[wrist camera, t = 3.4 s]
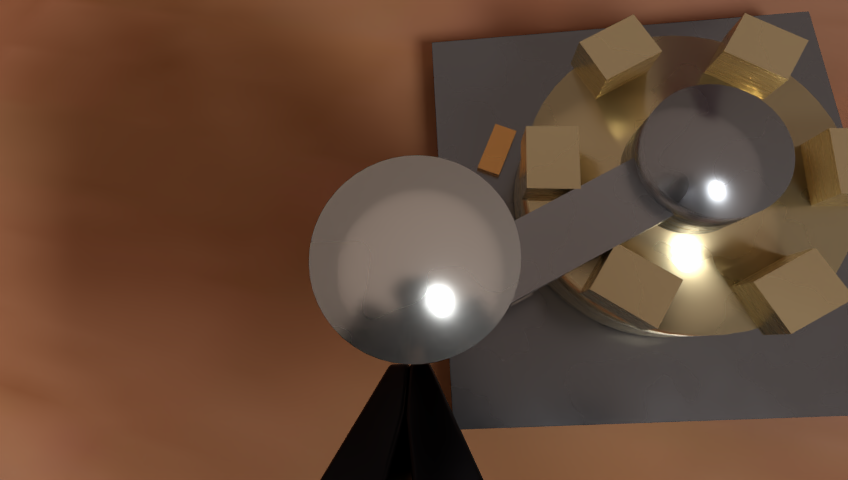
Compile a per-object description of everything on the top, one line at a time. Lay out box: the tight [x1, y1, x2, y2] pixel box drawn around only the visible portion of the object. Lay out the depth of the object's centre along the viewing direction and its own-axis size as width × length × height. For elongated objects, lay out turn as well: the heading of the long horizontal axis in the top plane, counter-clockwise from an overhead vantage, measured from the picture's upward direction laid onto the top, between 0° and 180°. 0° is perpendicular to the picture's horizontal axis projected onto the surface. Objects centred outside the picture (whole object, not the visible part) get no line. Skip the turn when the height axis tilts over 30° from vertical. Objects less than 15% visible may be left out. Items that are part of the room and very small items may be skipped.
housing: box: [432, 12, 848, 429], centre depth 16 cm, size 14×14×2 cm
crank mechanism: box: [309, 13, 848, 364], centre depth 10 cm, size 14×9×10 cm, turn 118°
